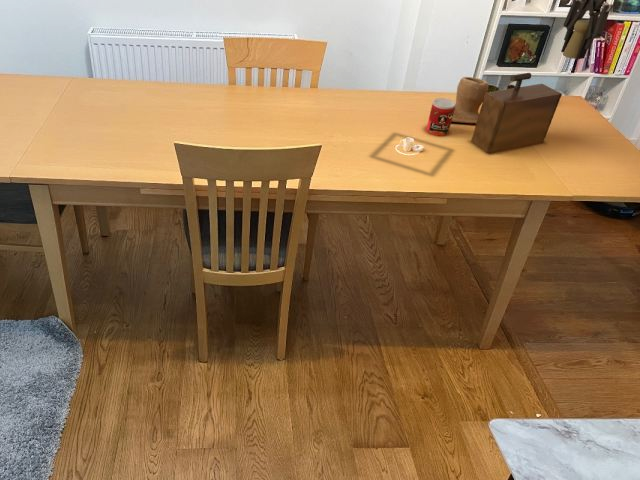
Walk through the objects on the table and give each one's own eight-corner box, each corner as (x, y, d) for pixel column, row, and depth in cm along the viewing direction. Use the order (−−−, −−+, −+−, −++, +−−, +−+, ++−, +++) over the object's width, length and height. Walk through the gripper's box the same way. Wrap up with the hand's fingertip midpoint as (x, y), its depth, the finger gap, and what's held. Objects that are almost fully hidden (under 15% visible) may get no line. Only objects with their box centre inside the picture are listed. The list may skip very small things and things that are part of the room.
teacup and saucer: (424, 150, 196) (427, 138, 193) (416, 159, 191) (419, 148, 188) (400, 142, 199) (402, 131, 197) (391, 152, 194) (393, 140, 191)
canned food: (426, 136, 204) (434, 106, 196) (424, 126, 210) (432, 96, 202) (449, 138, 203) (457, 108, 196) (446, 128, 209) (454, 98, 202)
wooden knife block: (568, 78, 187) (547, 68, 193) (509, 87, 180) (490, 77, 186) (542, 144, 202) (524, 133, 208) (487, 155, 195) (470, 143, 201)
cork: (563, 57, 192) (575, 21, 185) (562, 51, 197) (574, 16, 189) (582, 59, 191) (596, 24, 184) (581, 54, 195) (594, 19, 188)
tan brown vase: (478, 114, 219) (490, 74, 209) (484, 128, 210) (496, 87, 200) (437, 111, 220) (447, 71, 210) (441, 124, 211) (452, 84, 201)
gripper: (636, -16, 173) (603, 63, 188) (586, -31, 186) (559, 44, 201) (617, -14, 171) (586, 66, 186) (568, -29, 184) (543, 46, 199)
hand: (572, 54), depth 194 cm, fingers closed on cork, 6 cm apart
